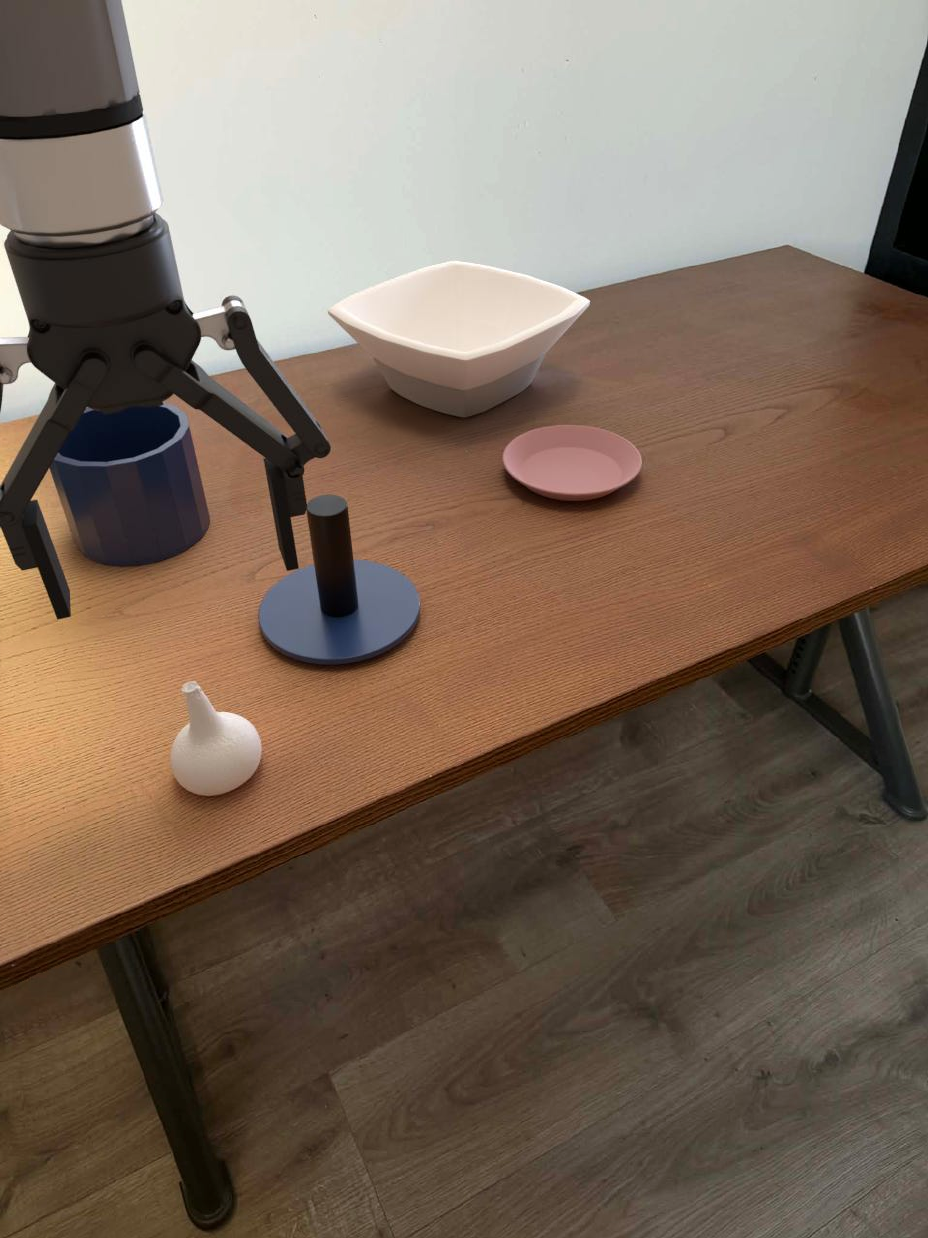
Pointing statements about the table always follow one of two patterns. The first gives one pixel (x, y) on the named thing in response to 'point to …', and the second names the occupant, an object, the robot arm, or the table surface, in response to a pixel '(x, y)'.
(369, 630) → the lid
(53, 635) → the table surface
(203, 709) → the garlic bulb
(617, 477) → the plate
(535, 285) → the bowl
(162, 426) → the pot
